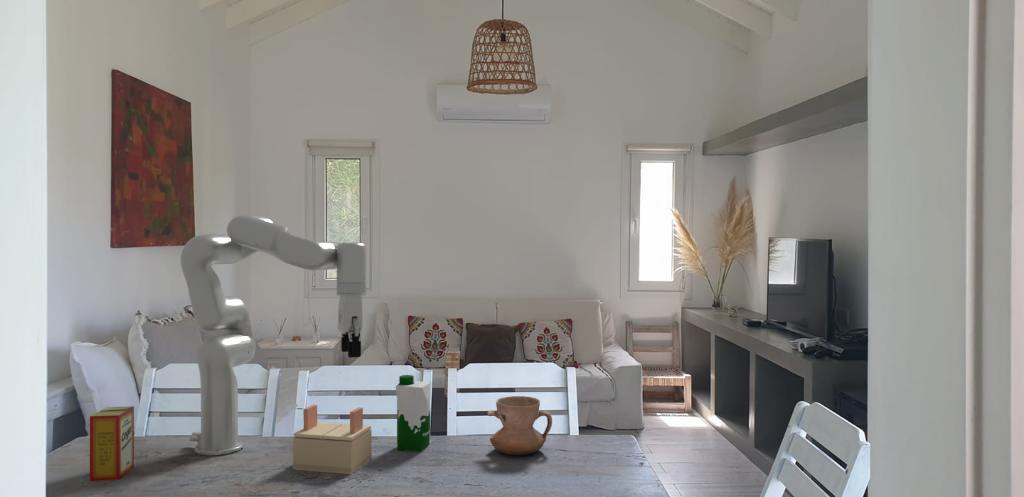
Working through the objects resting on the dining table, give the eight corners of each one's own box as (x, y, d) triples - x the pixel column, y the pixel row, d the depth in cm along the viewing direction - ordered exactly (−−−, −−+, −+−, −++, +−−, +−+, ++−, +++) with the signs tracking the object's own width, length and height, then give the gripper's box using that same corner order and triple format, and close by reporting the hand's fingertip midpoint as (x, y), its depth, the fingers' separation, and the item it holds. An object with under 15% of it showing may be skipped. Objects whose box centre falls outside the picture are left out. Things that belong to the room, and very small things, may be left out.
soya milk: (403, 442, 200) (404, 373, 200) (433, 443, 198) (434, 374, 198) (392, 450, 191) (392, 378, 191) (423, 453, 189) (424, 380, 189)
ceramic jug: (486, 459, 184) (486, 406, 184) (488, 443, 198) (488, 394, 198) (553, 459, 184) (553, 406, 184) (551, 444, 198) (551, 394, 198)
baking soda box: (118, 479, 167) (118, 413, 167) (89, 481, 166) (89, 414, 166) (133, 467, 177) (133, 404, 177) (106, 468, 176) (106, 405, 176)
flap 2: (323, 438, 174) (323, 413, 174) (343, 426, 185) (343, 403, 185) (351, 440, 172) (351, 415, 172) (370, 428, 183) (371, 404, 183)
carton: (292, 469, 175) (292, 438, 175) (316, 455, 187) (316, 425, 187) (351, 474, 172) (351, 442, 172) (371, 459, 183) (371, 429, 183)
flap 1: (293, 436, 175) (293, 411, 175) (316, 425, 187) (316, 401, 187) (321, 438, 174) (321, 413, 174) (342, 426, 185) (342, 403, 185)
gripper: (331, 287, 188) (330, 350, 188) (342, 291, 172) (342, 360, 172) (359, 287, 191) (358, 348, 191) (372, 291, 175) (372, 358, 175)
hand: (350, 354), depth 182 cm, fingers open, 9 cm apart
